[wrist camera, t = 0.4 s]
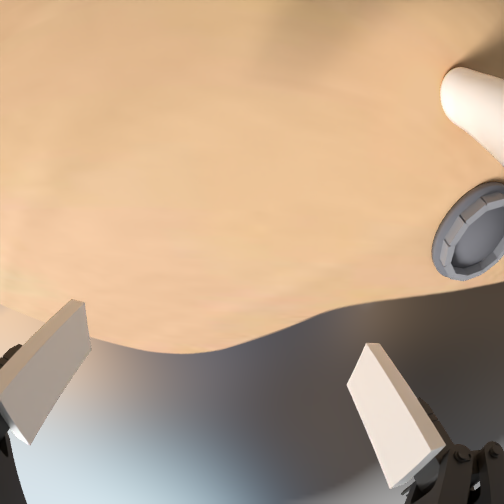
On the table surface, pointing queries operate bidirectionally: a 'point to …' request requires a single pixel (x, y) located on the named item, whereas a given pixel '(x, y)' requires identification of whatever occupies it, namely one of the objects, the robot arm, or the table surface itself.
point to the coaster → (471, 234)
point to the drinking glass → (476, 107)
